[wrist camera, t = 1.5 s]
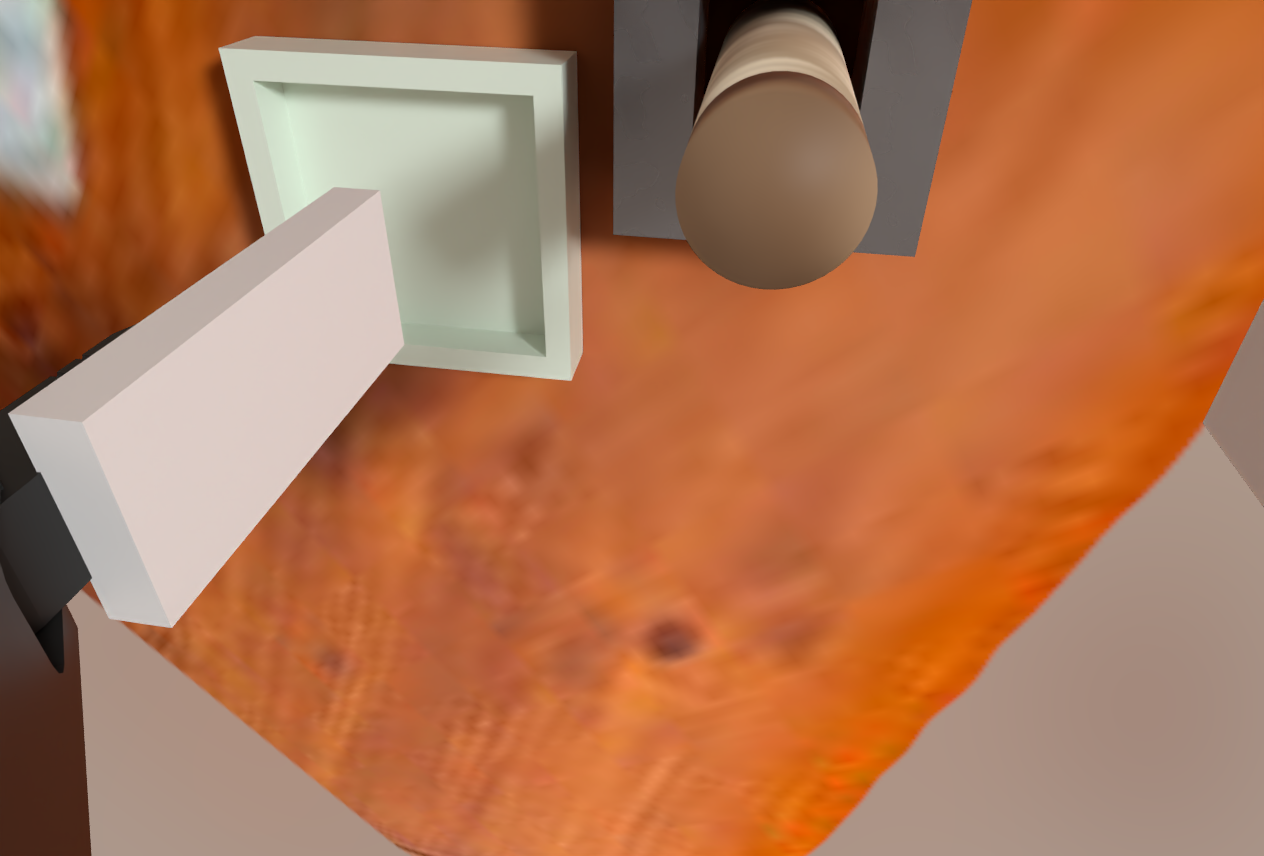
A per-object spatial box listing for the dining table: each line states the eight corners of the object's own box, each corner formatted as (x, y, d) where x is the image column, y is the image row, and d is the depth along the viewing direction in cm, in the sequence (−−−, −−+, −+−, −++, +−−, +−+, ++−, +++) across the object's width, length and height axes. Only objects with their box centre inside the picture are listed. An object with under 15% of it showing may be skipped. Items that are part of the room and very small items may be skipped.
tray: (320, 328, 37) (294, 354, 35) (255, 36, 30) (218, 48, 28) (583, 352, 36) (571, 380, 34) (576, 51, 29) (561, 64, 27)
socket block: (631, 195, 31) (613, 234, 28) (636, -120, 26) (614, -117, 22) (901, 213, 30) (914, 256, 27) (968, -113, 25) (996, -108, 21)
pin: (716, 118, 29) (671, 281, 18) (724, -8, 27) (679, 87, 16) (830, 124, 29) (858, 296, 17) (849, -4, 27) (896, 98, 15)
